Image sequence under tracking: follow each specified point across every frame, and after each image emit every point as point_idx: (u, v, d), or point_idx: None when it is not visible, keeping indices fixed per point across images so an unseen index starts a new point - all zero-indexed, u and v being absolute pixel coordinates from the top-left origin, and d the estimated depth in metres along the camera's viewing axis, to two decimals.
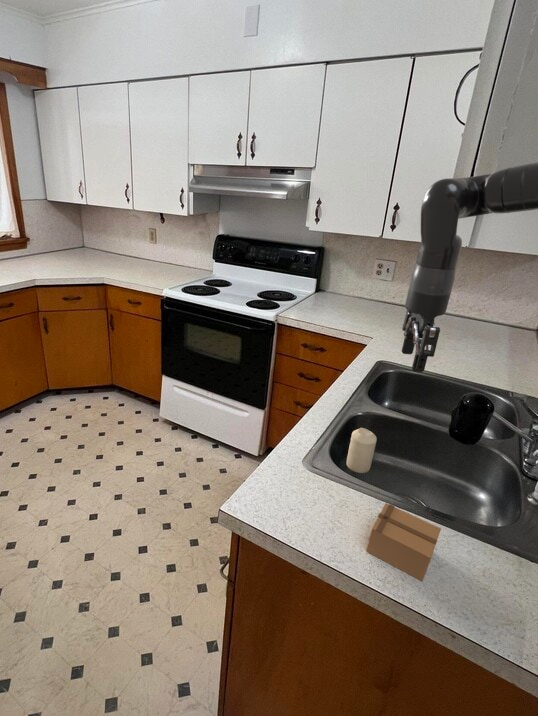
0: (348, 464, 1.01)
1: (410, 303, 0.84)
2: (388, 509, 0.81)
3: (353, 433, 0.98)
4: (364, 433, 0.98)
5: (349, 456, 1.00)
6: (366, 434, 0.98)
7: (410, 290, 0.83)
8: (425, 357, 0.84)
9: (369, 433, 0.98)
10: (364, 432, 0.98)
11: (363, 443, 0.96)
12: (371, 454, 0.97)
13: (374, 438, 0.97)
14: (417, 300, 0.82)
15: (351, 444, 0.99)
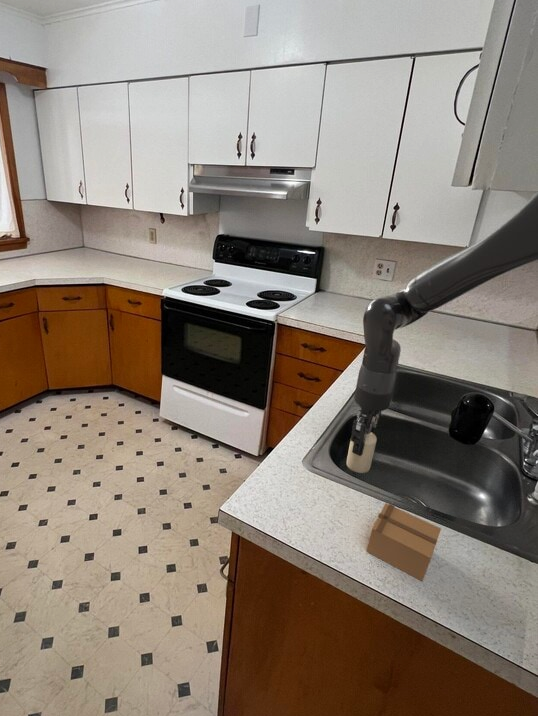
0: (348, 464, 1.01)
1: (355, 393, 0.94)
2: (388, 509, 0.81)
3: None
4: None
5: (349, 456, 1.00)
6: None
7: None
8: (359, 443, 0.95)
9: None
10: None
11: None
12: (371, 454, 0.97)
13: (374, 438, 0.97)
14: (357, 392, 0.93)
15: (351, 444, 0.99)
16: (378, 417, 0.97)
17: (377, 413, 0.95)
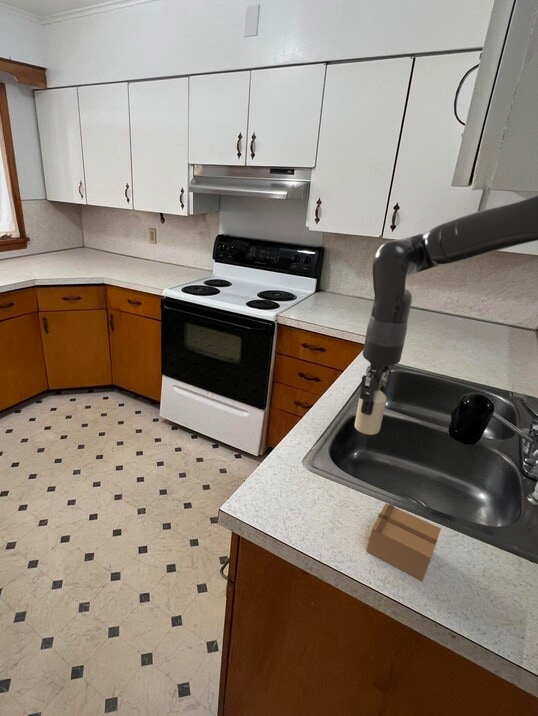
0: (356, 426, 0.96)
1: None
2: (388, 509, 0.81)
3: None
4: None
5: (357, 417, 0.95)
6: None
7: None
8: (369, 402, 0.90)
9: (378, 392, 0.93)
10: None
11: None
12: (381, 414, 0.93)
13: (384, 397, 0.92)
14: (366, 346, 0.88)
15: (359, 404, 0.94)
16: (388, 374, 0.92)
17: (387, 369, 0.90)
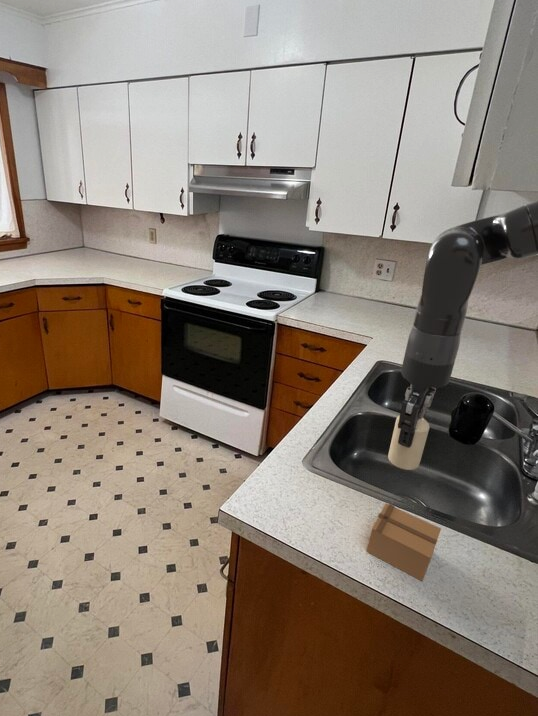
0: (391, 459, 0.79)
1: (402, 366, 0.73)
2: (388, 509, 0.81)
3: (398, 419, 0.77)
4: None
5: (392, 448, 0.78)
6: None
7: (405, 351, 0.72)
8: (409, 431, 0.73)
9: None
10: None
11: None
12: (422, 445, 0.76)
13: (426, 425, 0.75)
14: (406, 364, 0.71)
15: (395, 433, 0.77)
16: (432, 398, 0.75)
17: (431, 392, 0.73)
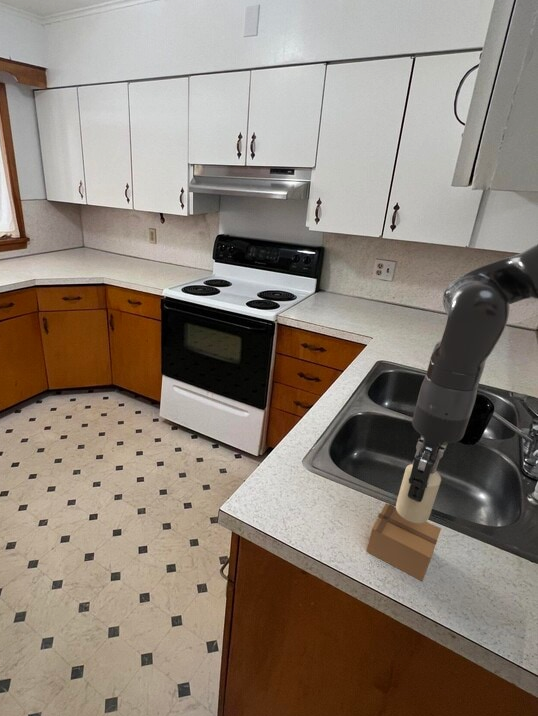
0: (399, 510, 0.74)
1: (413, 417, 0.68)
2: (388, 509, 0.81)
3: (408, 470, 0.72)
4: None
5: (401, 500, 0.74)
6: None
7: (417, 401, 0.68)
8: None
9: None
10: None
11: None
12: (433, 499, 0.71)
13: (438, 477, 0.70)
14: (418, 416, 0.66)
15: (405, 485, 0.72)
16: None
17: (444, 444, 0.69)
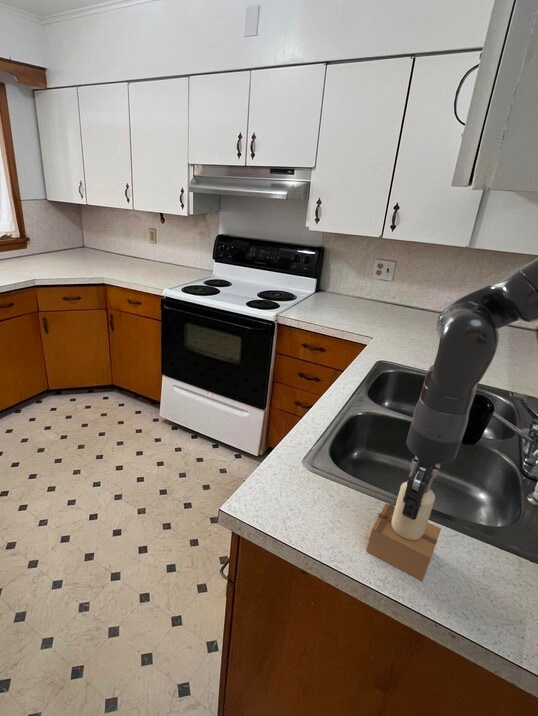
0: (395, 527, 0.76)
1: (408, 437, 0.70)
2: (388, 509, 0.81)
3: (402, 488, 0.74)
4: None
5: (396, 517, 0.75)
6: None
7: (411, 422, 0.69)
8: None
9: None
10: None
11: None
12: (427, 516, 0.73)
13: (432, 496, 0.72)
14: (412, 437, 0.68)
15: (400, 502, 0.74)
16: None
17: (438, 464, 0.70)
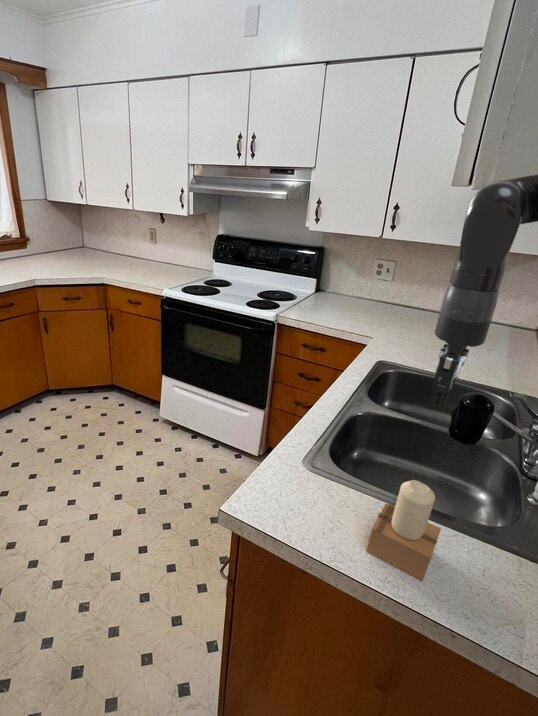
0: (395, 527, 0.76)
1: (436, 326, 0.72)
2: (388, 509, 0.81)
3: (402, 488, 0.74)
4: (417, 488, 0.73)
5: (396, 517, 0.75)
6: (420, 489, 0.73)
7: (440, 311, 0.71)
8: (443, 392, 0.71)
9: (424, 488, 0.73)
10: (418, 486, 0.74)
11: (417, 503, 0.71)
12: (427, 516, 0.73)
13: (432, 496, 0.72)
14: (442, 323, 0.70)
15: (400, 502, 0.74)
16: None
17: (465, 353, 0.72)
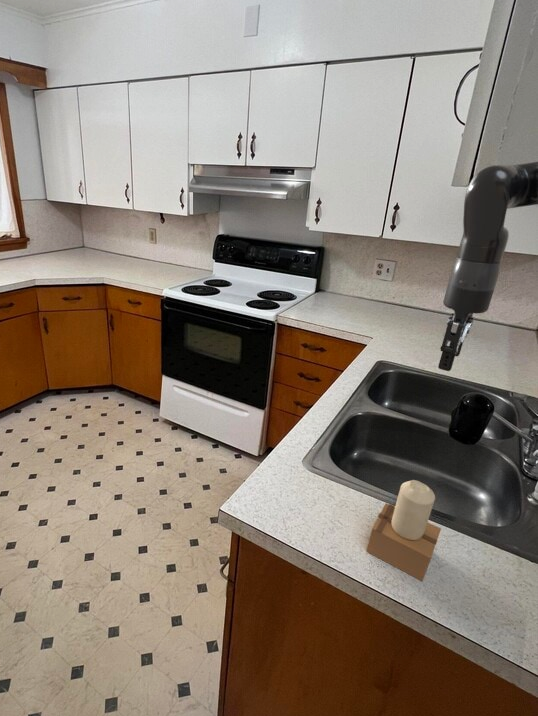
0: (395, 527, 0.76)
1: (445, 296, 0.80)
2: (388, 509, 0.81)
3: (402, 488, 0.74)
4: (417, 488, 0.73)
5: (396, 517, 0.75)
6: (420, 489, 0.73)
7: (448, 283, 0.80)
8: (450, 355, 0.79)
9: (424, 488, 0.73)
10: (418, 486, 0.74)
11: (417, 503, 0.71)
12: (427, 516, 0.73)
13: (432, 496, 0.72)
14: (450, 293, 0.79)
15: (400, 502, 0.74)
16: None
17: None
